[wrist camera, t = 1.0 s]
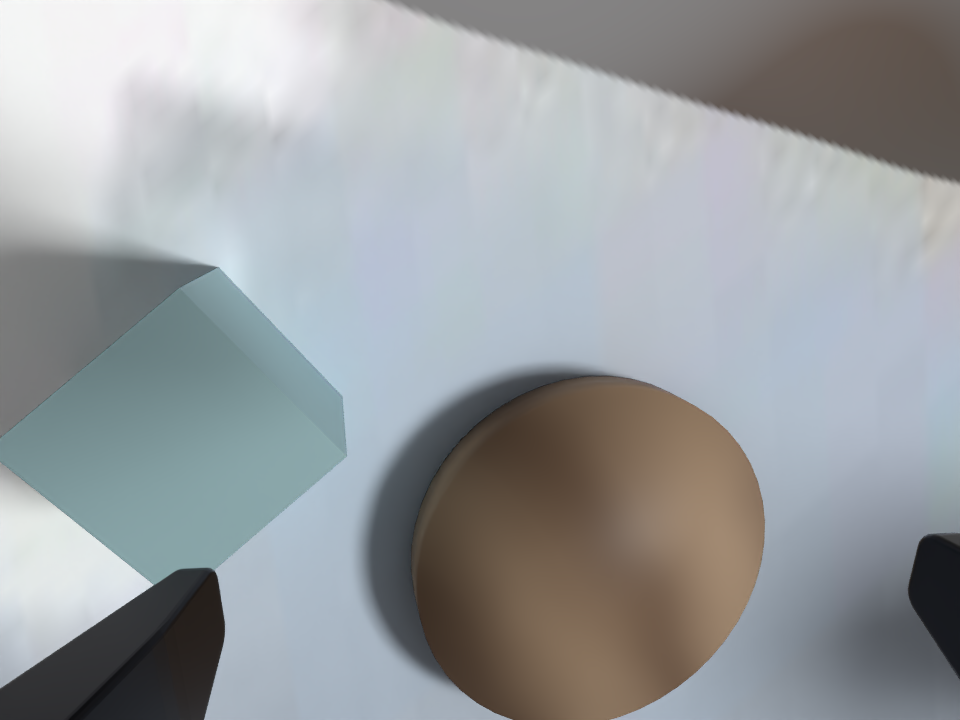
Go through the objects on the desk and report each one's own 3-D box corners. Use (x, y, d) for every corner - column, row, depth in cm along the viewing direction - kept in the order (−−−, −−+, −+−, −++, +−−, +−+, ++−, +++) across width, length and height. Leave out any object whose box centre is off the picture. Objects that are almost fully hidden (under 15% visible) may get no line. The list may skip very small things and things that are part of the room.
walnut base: (552, 752, 24) (566, 786, 23) (332, 548, 20) (333, 574, 19) (792, 540, 24) (821, 561, 23) (620, 300, 21) (642, 307, 19)
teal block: (213, 505, 19) (176, 602, 14) (78, 385, 18) (-15, 449, 13) (342, 395, 19) (346, 456, 15) (218, 266, 18) (179, 288, 13)
